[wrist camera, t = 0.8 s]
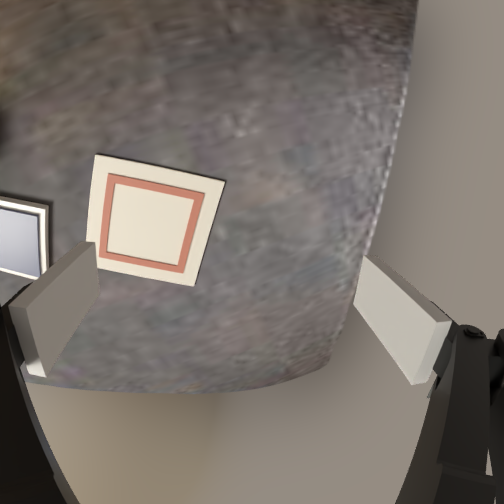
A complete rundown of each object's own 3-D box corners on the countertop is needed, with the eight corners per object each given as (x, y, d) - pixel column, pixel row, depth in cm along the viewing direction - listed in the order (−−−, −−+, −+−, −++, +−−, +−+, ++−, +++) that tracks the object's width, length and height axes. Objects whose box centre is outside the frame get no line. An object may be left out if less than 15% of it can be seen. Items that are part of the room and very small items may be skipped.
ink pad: (-19, 192, 32) (-25, 197, 31) (48, 205, 36) (43, 211, 34) (-12, 261, 38) (-17, 267, 37) (49, 277, 41) (46, 284, 40)
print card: (96, 154, 34) (94, 155, 33) (224, 181, 38) (225, 182, 38) (85, 263, 41) (84, 266, 41) (193, 285, 46) (193, 287, 45)
